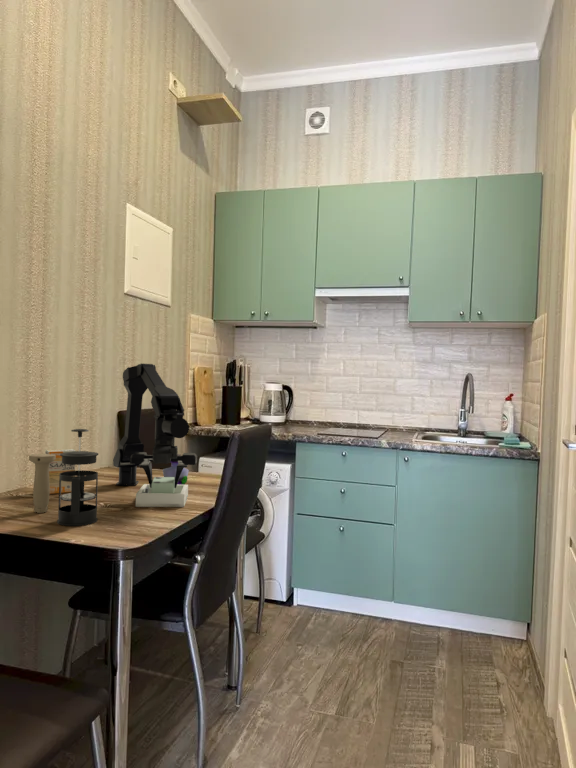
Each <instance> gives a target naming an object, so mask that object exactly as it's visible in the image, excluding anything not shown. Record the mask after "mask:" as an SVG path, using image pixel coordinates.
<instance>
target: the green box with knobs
mask: <svg viewBox="0 0 576 768" xmlns="http://www.w3.org/2000/svg"><path fill="white" fill-rule="evenodd" d="M152 479H153V482H152V488H151V493H174V480H175V477H164V476H154V477H153V478H152Z"/></svg>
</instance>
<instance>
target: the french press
mask: <svg viewBox="0 0 576 768" xmlns="http://www.w3.org/2000/svg"><path fill="white" fill-rule="evenodd" d="M70 431H71V432H72V433H73V432H75V433H77V438H78V450H75V451H73V452H66V453H61V454H60V456H62V463H63V464H68V465H75V466H77V469H78V470H75V471H67V472H62V473H60V475H59V493H58V511H57V512H58V513H57V514H58V517H57V518H58V519H57V521H56V523H57V525H59V524H60V526H63V525H64V526H65V527H82V525H84V526H88V524H89V525H92V523H93V524H95V523H97V522H98V517H97V516H98V515H97V512H98V486H99V485H98V483H99V479H98V477H99V473H98V472H97V471H94V470H81V466H82V465H93V464H96V463H97V456H99V453H98V452H95V451H87V450H81V442H82V441H81V439H82V438H83V432H84V433H87V432H89V431H90V430H89V429H85V428H75V429H71V430H70ZM61 481H66V482H72V484H71V492H67V493H63V494H62V493H61ZM91 481H95V482H96V483H95V493H93V492H86V491H85V482H91ZM94 499H95V505H94V504H88V503H84V502H86V501H91V500H94ZM62 501H65V502H70V504H67V505H64V506H61V503H62ZM64 526H63V527H64Z"/></svg>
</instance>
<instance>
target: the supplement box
mask: <svg viewBox="0 0 576 768" xmlns="http://www.w3.org/2000/svg"><path fill="white" fill-rule="evenodd" d="M73 451H76V450H75V449H45V453H44V454H53V455H56V458H55V460H54V461H53V462H51V463H50V464H49V485H50V489H49V490H50V494H49V495H51V494H59V475H60V473H62V472H67V471H76V465H68V464H63V463H62V456H60V454H61V453H66V452H73ZM71 484H72V482H66V481H61V494H67V493H71Z"/></svg>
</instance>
